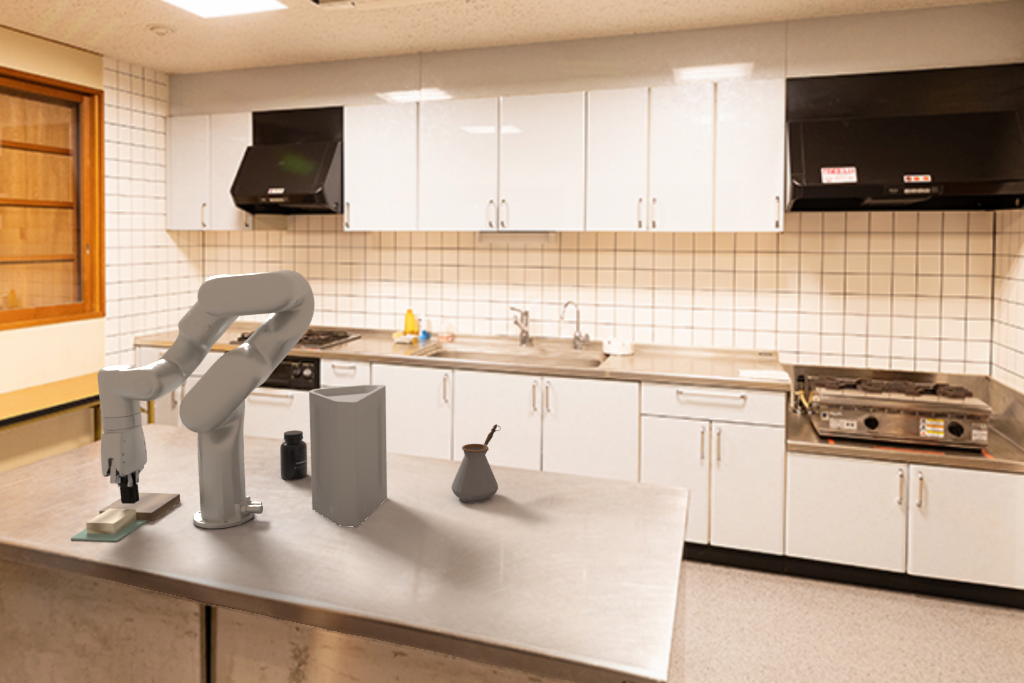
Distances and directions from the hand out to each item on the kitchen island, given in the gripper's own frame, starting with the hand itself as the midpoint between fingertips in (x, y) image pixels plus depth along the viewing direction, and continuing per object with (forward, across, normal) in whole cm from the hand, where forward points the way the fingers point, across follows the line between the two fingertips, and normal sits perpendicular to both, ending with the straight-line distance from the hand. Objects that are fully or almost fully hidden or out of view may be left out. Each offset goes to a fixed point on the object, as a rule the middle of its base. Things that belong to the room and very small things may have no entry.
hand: (130, 502), depth 158 cm
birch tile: (+4, +5, -1) cm, 6 cm away
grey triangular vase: (+6, -10, +45) cm, 46 cm away
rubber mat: (+4, +6, -1) cm, 8 cm away
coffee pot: (+7, -25, +76) cm, 80 cm away
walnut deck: (+4, -5, -1) cm, 7 cm away
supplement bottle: (+5, -32, +25) cm, 41 cm away
